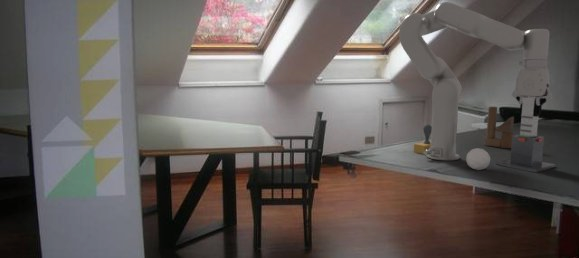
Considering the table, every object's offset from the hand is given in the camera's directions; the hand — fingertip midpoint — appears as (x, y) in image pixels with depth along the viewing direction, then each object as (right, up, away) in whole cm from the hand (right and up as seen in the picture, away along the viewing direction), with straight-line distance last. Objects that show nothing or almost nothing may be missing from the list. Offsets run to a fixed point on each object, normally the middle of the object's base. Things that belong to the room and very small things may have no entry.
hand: (530, 115), depth 152 cm
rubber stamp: (-28, -15, +28) cm, 43 cm away
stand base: (0, -19, +3) cm, 19 cm away
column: (0, -11, +2) cm, 12 cm away
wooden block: (+8, -13, +39) cm, 42 cm away
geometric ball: (-20, -20, -2) cm, 28 cm away
